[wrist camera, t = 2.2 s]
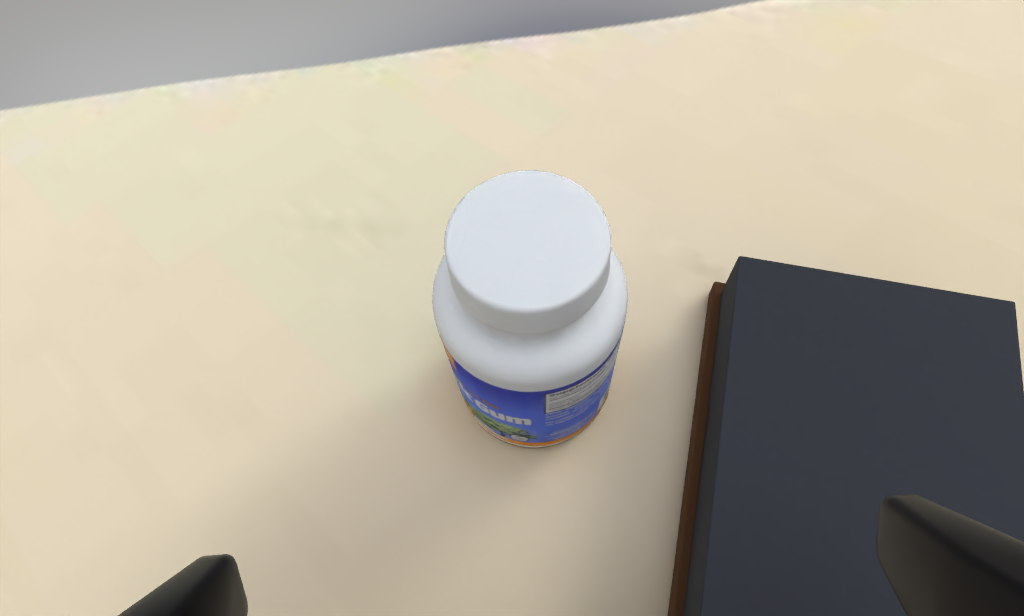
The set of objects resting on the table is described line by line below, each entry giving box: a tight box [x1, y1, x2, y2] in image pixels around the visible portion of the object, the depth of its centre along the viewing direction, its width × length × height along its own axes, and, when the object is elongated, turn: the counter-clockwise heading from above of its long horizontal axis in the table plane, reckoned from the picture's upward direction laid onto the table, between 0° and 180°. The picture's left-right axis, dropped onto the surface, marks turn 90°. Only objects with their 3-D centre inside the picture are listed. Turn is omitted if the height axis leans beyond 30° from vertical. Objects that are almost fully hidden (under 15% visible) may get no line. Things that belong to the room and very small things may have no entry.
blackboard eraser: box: [668, 256, 1024, 616], centre depth 19 cm, size 18×9×4 cm, turn 166°
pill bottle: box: [432, 170, 628, 448], centre depth 20 cm, size 6×5×10 cm
